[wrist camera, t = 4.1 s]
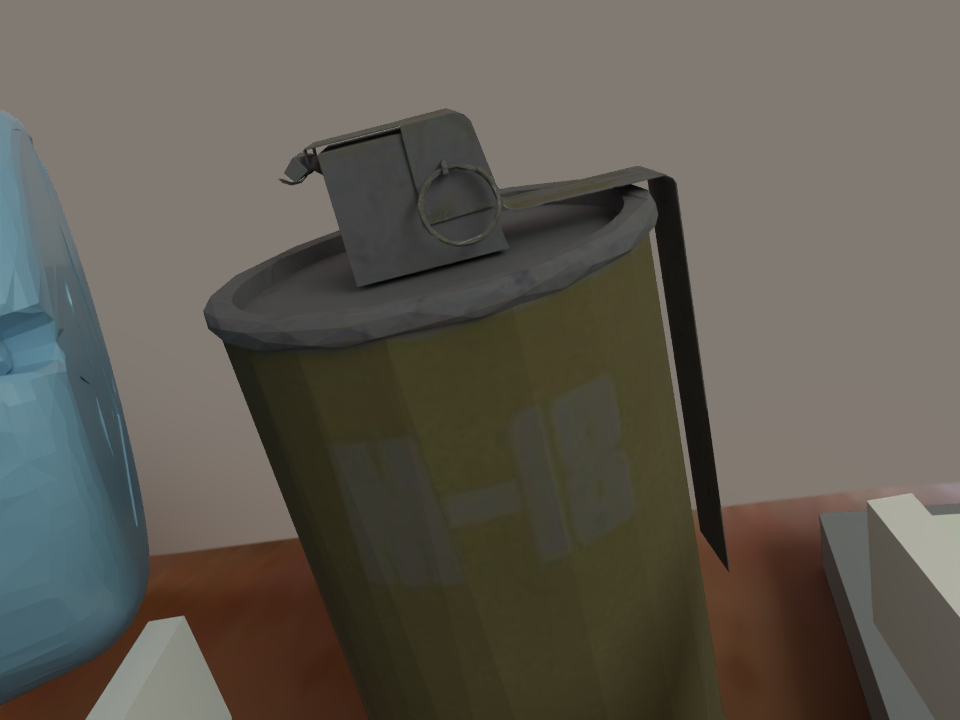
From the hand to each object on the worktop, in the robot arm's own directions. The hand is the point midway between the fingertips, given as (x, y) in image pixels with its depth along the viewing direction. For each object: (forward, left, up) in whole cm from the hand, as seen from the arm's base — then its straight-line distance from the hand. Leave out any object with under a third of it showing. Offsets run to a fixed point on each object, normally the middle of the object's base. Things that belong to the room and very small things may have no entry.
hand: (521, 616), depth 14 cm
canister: (-2, +5, -11) cm, 13 cm away
